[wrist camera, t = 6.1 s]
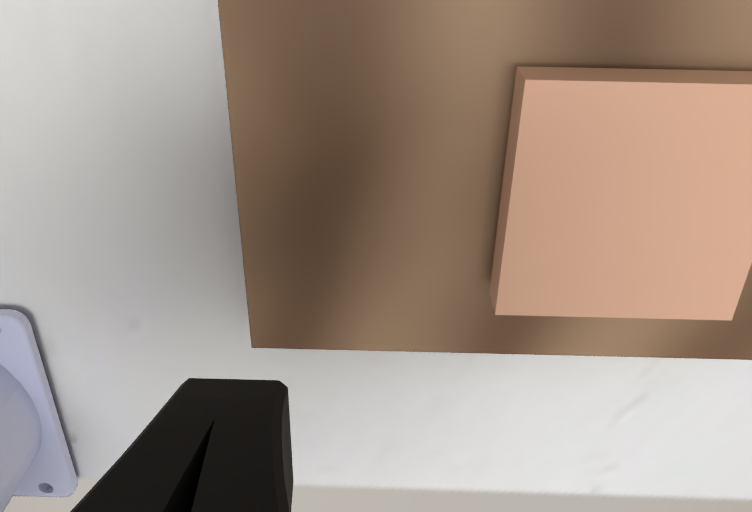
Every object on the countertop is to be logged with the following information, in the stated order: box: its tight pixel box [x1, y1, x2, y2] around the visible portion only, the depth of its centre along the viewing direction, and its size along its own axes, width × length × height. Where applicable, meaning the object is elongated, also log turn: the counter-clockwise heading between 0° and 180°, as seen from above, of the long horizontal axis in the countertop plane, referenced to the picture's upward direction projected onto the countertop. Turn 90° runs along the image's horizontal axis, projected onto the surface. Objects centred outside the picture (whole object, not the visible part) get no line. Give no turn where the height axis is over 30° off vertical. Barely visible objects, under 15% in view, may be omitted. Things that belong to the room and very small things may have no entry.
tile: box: [490, 66, 752, 320], centre depth 16 cm, size 2×6×6 cm
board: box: [218, 0, 752, 360], centre depth 17 cm, size 16×11×1 cm
